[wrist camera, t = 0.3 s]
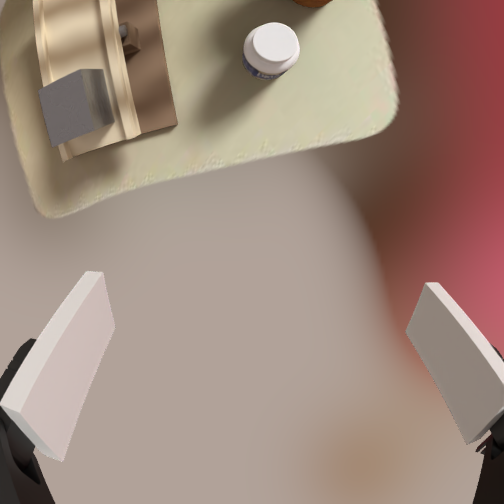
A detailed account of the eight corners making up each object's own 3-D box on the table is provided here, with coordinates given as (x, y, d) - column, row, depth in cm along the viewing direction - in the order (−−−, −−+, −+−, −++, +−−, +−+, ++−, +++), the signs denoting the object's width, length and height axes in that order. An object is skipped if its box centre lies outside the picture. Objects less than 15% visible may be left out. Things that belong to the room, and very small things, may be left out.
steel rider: (63, 86, 23) (37, 90, 19) (103, 68, 23) (80, 68, 18) (75, 136, 26) (52, 147, 22) (114, 121, 26) (94, 130, 22)
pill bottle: (253, 87, 31) (258, 77, 22) (235, 49, 29) (233, 27, 20) (295, 71, 30) (315, 58, 22) (277, 34, 28) (290, 8, 19)
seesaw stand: (53, 6, 22) (34, -1, 18) (152, -36, 22) (141, -51, 17) (74, 156, 33) (54, 163, 29) (177, 124, 33) (168, 126, 28)
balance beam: (43, -13, 17) (24, -19, 13) (116, -49, 16) (102, -62, 12) (73, 154, 29) (55, 166, 26) (148, 130, 29) (135, 138, 25)
